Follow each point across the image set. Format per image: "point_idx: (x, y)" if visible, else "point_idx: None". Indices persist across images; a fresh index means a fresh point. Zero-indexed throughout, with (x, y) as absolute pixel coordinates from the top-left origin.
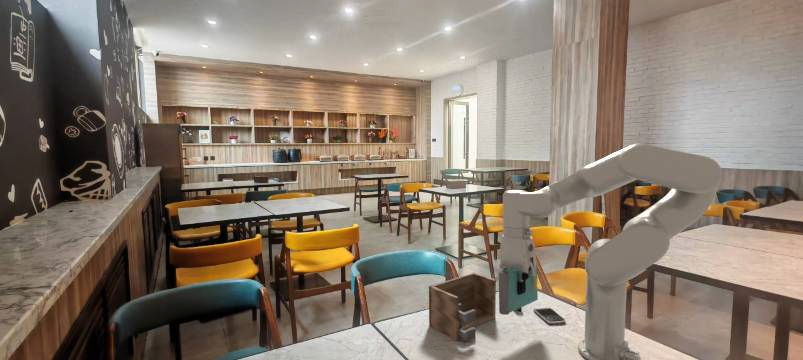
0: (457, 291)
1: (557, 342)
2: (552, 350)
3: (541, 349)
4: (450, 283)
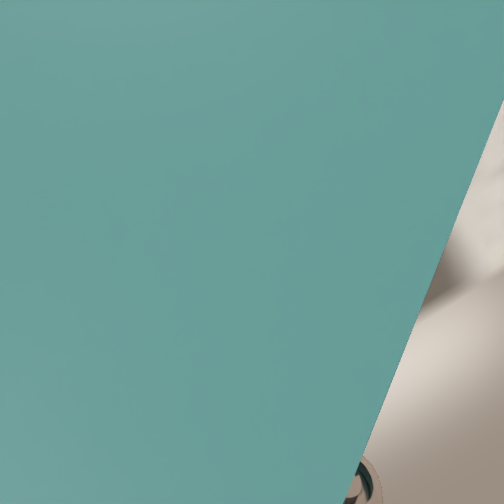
0: None
1: (497, 154)
2: (488, 246)
3: (438, 268)
4: None
